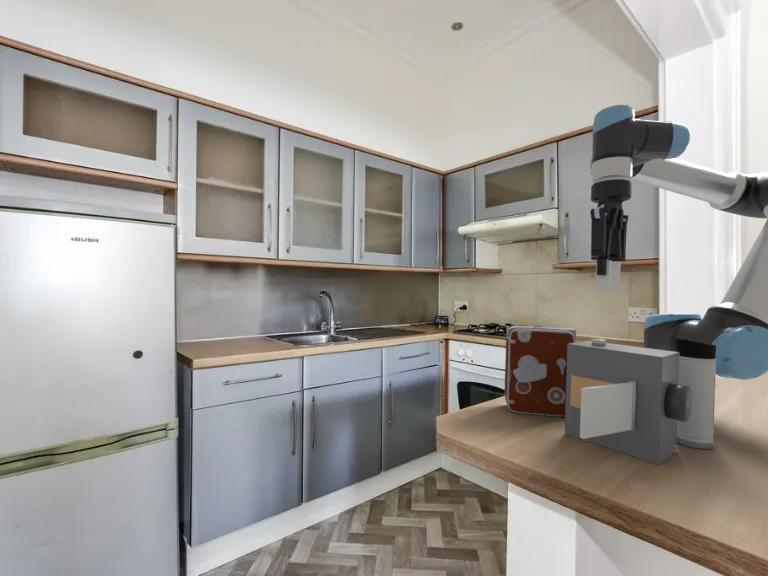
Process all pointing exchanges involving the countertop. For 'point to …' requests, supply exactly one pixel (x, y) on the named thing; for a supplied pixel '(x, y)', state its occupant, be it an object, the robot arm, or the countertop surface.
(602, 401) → the side door
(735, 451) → the countertop surface
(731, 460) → the countertop surface
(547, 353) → the red printed tin
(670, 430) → the box
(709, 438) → the travel mug
